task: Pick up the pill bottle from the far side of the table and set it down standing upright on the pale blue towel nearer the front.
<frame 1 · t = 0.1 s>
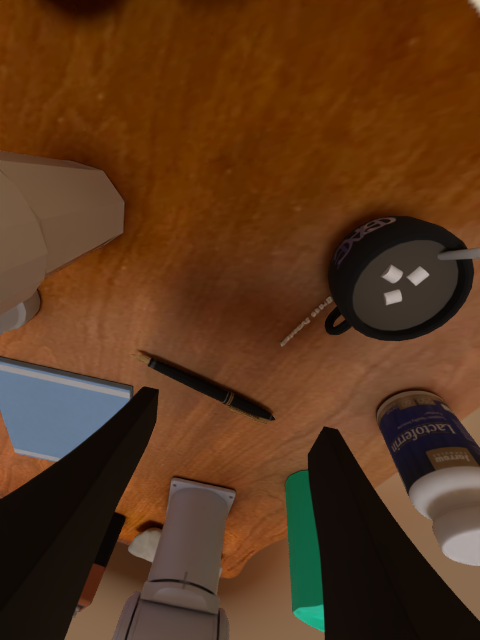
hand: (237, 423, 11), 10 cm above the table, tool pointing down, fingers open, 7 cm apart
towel: (69, 421, 29), on the table
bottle: (13, 290, 21), on the table
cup: (89, 206, 17), on the table
fountain pen: (208, 381, 24), on the table
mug: (337, 288, 19), on the table
pill bottle: (407, 409, 24), on the table
battery: (101, 512, 39), on the table
candle: (311, 483, 30), on the table
stone tool: (135, 535, 38), point 1 cm above the table
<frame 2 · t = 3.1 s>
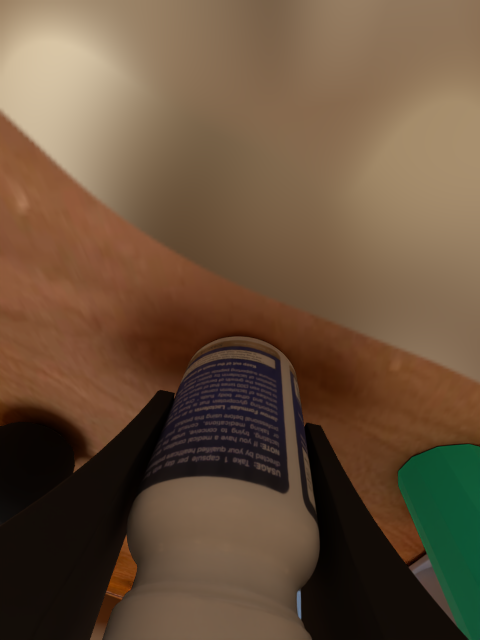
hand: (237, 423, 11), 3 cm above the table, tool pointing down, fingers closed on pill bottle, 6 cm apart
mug: (83, 452, 19), on the table
pill bottle: (242, 375, 14), on the table, touching gripper
candle: (447, 471, 16), on the table
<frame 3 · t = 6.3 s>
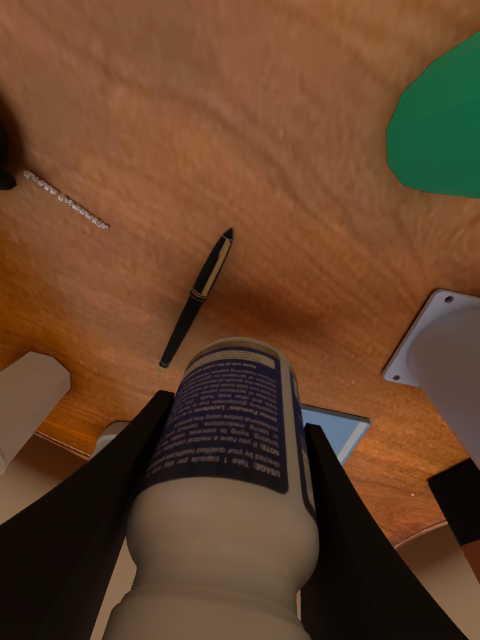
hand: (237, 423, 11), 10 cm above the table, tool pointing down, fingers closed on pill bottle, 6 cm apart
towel: (270, 447, 27), on the table
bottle: (129, 434, 29), on the table
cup: (46, 372, 25), on the table
fountain pen: (191, 310, 20), on the table
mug: (22, 163, 16), on the table
pill bottle: (241, 375, 14), point 7 cm above the table, touching gripper
battery: (466, 472, 27), on the table
candle: (445, 128, 14), on the table
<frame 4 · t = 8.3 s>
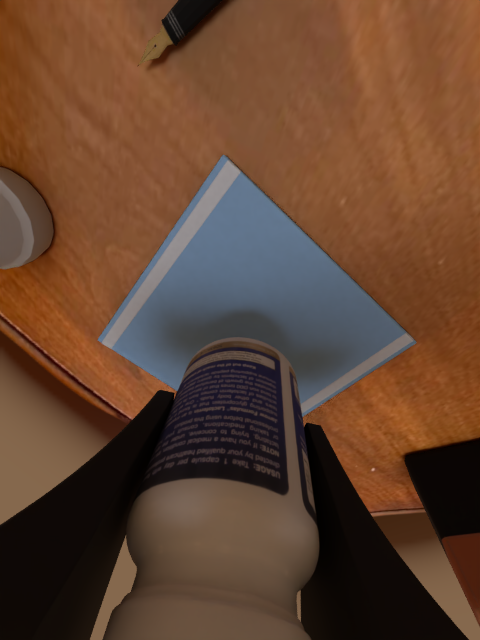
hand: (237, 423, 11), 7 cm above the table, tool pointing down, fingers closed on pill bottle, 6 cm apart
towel: (247, 336, 17), on the table
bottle: (14, 214, 15), on the table
pill bottle: (241, 375, 14), point 4 cm above the table, touching gripper
battery: (449, 458, 22), on the table
when the fingers open (3 cm above the table, at t = 9.8 s): pill bottle stays where it is, resting on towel.
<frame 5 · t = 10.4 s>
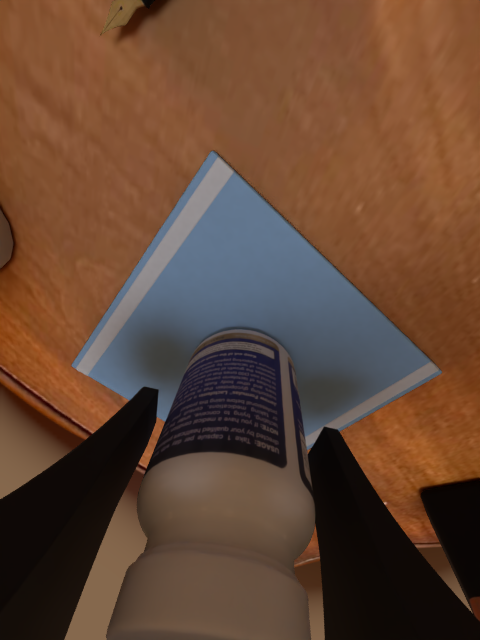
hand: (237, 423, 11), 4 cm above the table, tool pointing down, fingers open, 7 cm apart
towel: (244, 362, 15), on the table
pill bottle: (242, 367, 15), resting on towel
battery: (471, 492, 19), on the table
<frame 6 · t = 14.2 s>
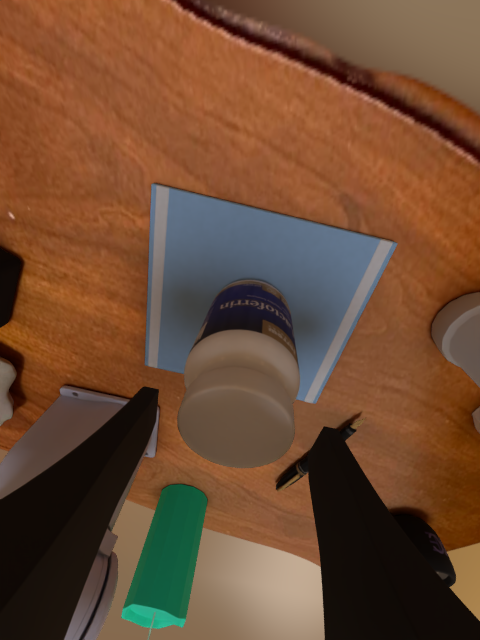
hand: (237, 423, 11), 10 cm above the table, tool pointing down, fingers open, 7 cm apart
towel: (249, 311, 19), on the table
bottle: (466, 321, 19), on the table
fountain pen: (313, 450, 27), on the table
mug: (385, 509, 31), on the table
pill bottle: (250, 313, 19), resting on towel
candle: (184, 495, 33), on the table
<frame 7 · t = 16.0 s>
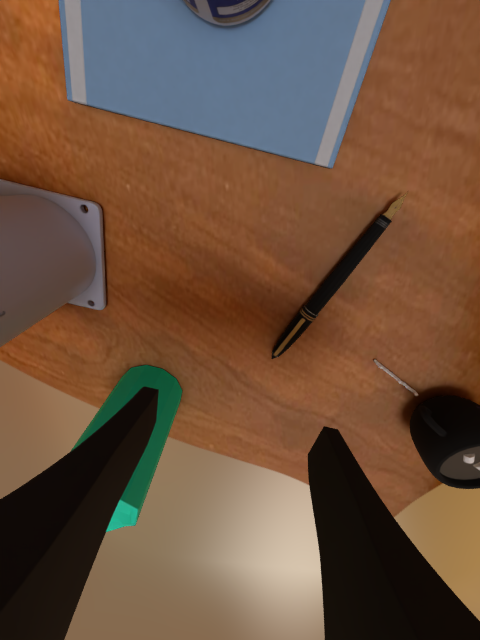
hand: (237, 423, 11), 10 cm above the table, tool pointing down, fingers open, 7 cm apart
fountain pen: (325, 285, 19), on the table
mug: (416, 393, 23), on the table
candle: (152, 387, 26), on the table
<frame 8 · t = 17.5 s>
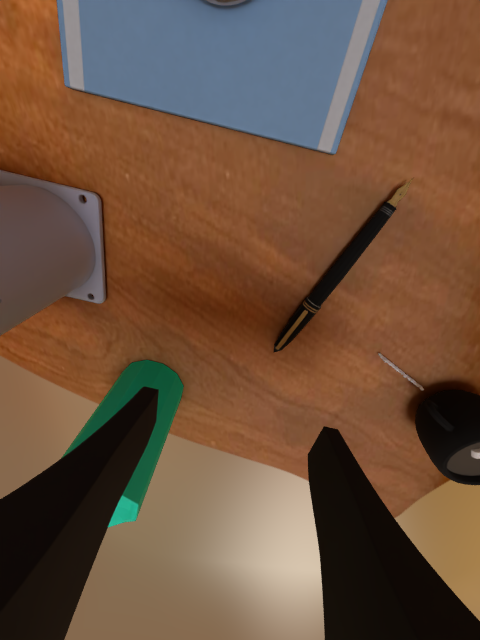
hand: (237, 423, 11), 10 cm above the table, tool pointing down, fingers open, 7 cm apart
fountain pen: (328, 276, 19), on the table
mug: (422, 388, 23), on the table
candle: (153, 383, 25), on the table
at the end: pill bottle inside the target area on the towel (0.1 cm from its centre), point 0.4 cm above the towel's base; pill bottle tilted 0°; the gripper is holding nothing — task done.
